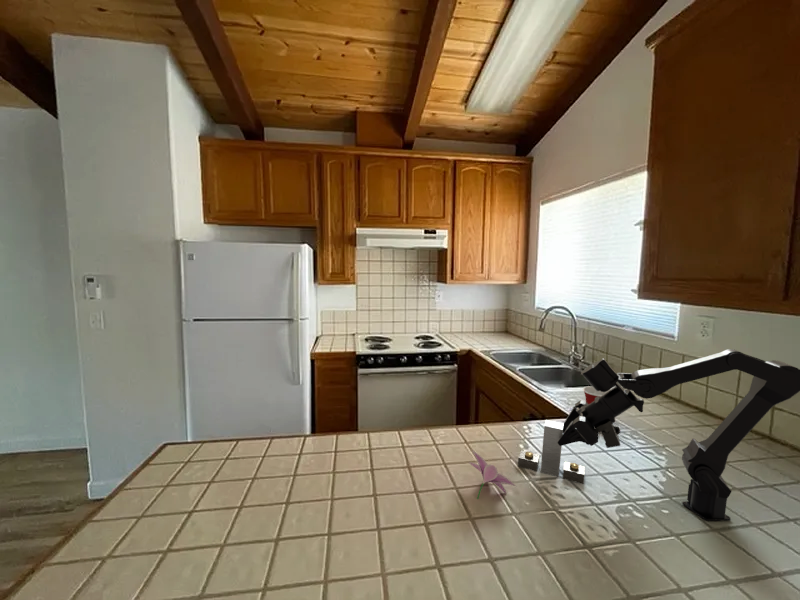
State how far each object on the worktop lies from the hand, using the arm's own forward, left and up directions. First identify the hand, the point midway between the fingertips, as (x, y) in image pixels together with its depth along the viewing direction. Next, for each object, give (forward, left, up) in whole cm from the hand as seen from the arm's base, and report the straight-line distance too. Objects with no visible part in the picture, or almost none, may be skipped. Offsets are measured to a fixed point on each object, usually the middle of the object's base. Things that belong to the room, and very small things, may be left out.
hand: (559, 437), depth 101 cm
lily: (-8, +23, -10) cm, 26 cm away
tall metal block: (+1, +1, -10) cm, 10 cm away
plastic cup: (+36, -37, -10) cm, 52 cm away
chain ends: (+1, +1, -10) cm, 10 cm away
